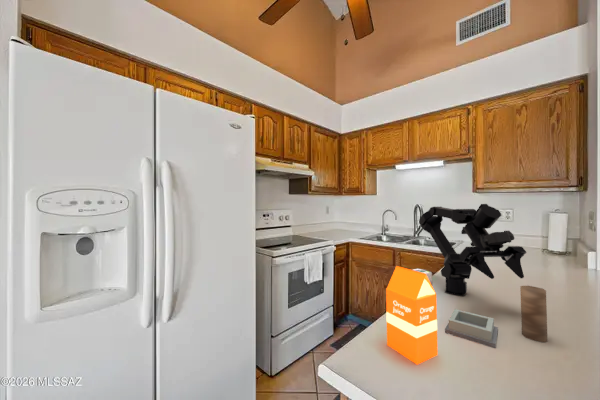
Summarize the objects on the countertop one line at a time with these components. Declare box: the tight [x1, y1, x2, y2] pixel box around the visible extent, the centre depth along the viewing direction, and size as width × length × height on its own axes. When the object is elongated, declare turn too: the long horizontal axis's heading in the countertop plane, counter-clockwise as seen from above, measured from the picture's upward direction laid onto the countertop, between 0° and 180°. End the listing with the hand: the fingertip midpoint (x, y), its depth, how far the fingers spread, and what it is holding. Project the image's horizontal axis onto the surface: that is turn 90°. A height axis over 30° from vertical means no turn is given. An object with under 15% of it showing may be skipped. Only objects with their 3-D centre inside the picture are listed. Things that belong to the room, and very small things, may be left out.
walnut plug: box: [519, 285, 549, 343], centre depth 64 cm, size 5×5×13 cm
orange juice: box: [385, 265, 439, 366], centre depth 59 cm, size 8×9×20 cm
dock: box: [444, 308, 499, 349], centre depth 67 cm, size 11×11×4 cm
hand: (507, 278), depth 73 cm, fingers open, 9 cm apart
